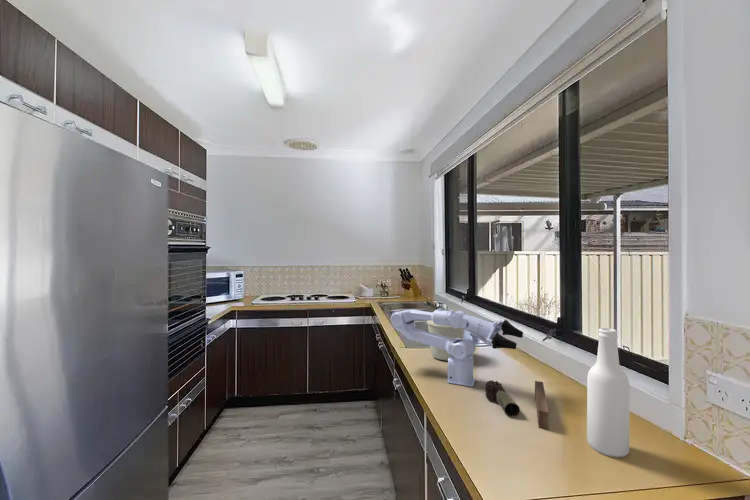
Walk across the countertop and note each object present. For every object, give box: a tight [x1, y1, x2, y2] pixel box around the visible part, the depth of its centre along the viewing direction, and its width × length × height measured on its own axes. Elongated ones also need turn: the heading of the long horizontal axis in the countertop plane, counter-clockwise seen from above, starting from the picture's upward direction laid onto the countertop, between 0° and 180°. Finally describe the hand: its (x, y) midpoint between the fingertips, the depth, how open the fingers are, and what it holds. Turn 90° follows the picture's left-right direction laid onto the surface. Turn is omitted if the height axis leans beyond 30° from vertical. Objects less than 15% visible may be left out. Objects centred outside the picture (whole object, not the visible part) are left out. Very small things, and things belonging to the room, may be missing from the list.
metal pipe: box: [484, 380, 521, 417], centre depth 111 cm, size 18×7×6 cm, turn 179°
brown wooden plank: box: [534, 380, 550, 430], centre depth 106 cm, size 2×24×5 cm, turn 157°
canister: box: [426, 320, 465, 362], centre depth 158 cm, size 18×18×21 cm
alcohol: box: [586, 327, 630, 458], centre depth 86 cm, size 9×9×30 cm
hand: (519, 340), depth 117 cm, fingers open, 7 cm apart
